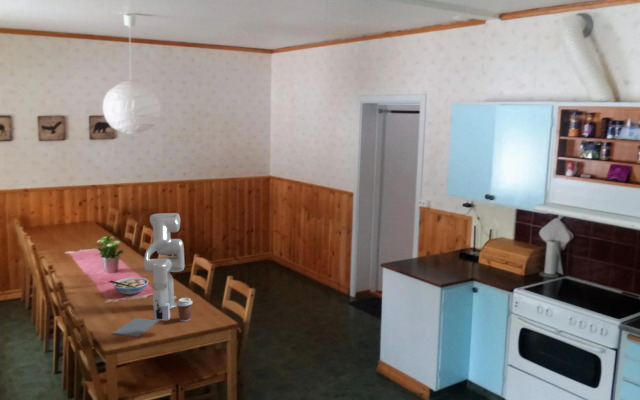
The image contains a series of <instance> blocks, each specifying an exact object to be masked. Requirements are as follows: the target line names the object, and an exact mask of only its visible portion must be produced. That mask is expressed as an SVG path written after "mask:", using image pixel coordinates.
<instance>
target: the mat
mask: <svg viewBox="0 0 640 400" xmlns="http://www.w3.org/2000/svg"><path fill="white" fill-rule="evenodd" d="M158 322H159V320H154V319H149V318H148V319H147V318H136V317H134V318H133V319H132V320H129V322H127V323H126V324H124V325H122V326H121V327H119V328H118V329H116V330H115V331H113V333H112V335H117V336H127V337H140V336H141V335H142V334H144V333H145V332H146V331H148V330H149V329H150V328H151V327H154V326H155V325H156V324H157V323H158Z"/></svg>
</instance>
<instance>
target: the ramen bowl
mask: <svg viewBox="0 0 640 400" xmlns="http://www.w3.org/2000/svg"><path fill="white" fill-rule="evenodd" d="M108 283H110V284H112V285H113V288H114V289H115V290H116V292H119V293H121V294H124V295H127V296H128V295H129V296H130V295H132V296H133V295H136V294H138V293H140V292H142V291H143V290H144V289H145V288H146V287H147V286H148V284H149V279H147V278H145V277H134V276H133V277H125V278H120V279H118V280H110V281H109V280H108Z"/></svg>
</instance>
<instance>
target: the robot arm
mask: <svg viewBox="0 0 640 400" xmlns="http://www.w3.org/2000/svg"><path fill="white" fill-rule="evenodd" d="M149 222H150V224H151V227H152V243H151V244H150V245H149V246H148V247H147V249H146V251H145V253H144V263H143V265H144V266H143V267H144V271H145V272H146V273H149V274H151V273H152V283H153V291H152V307H153V311H154V310H155V311H156V318H157V319H162V312H161V309H162V306H164V305H165V304H166V303H170V310H172V309H175V308H176V307H178V306H177V302H175V300H176V299H177V295H175V289H174V287H175V286H174V278H173V276H172V274H171V273H172V272H173V273H177V272H182V271H184V269H185V248H184V247H185V246H184V242H183V240H182V239H181V238H172V237H171V233H177V232H179V230H180V228H181V217H180V214H179V213H177V212H168V213H167V212H166V213H165V212H164V213H163V212H161V213H154V214H151V215H150V216H149ZM155 252H157V254H158V255H160V257H158V258H151V256H152V255H153V254H154V253H155ZM158 305H159V306H158ZM158 308H160V310H159V309H158Z"/></svg>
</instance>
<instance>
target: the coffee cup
mask: <svg viewBox="0 0 640 400" xmlns="http://www.w3.org/2000/svg"><path fill="white" fill-rule="evenodd" d="M176 303H177V306H176V307H177V310H178V311H177V312H178V316H179V317H178V318H179V321H180V322H188V321H191V320H192V305H193V300H191V298H189V297H182V298H179V299H177V302H176Z"/></svg>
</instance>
